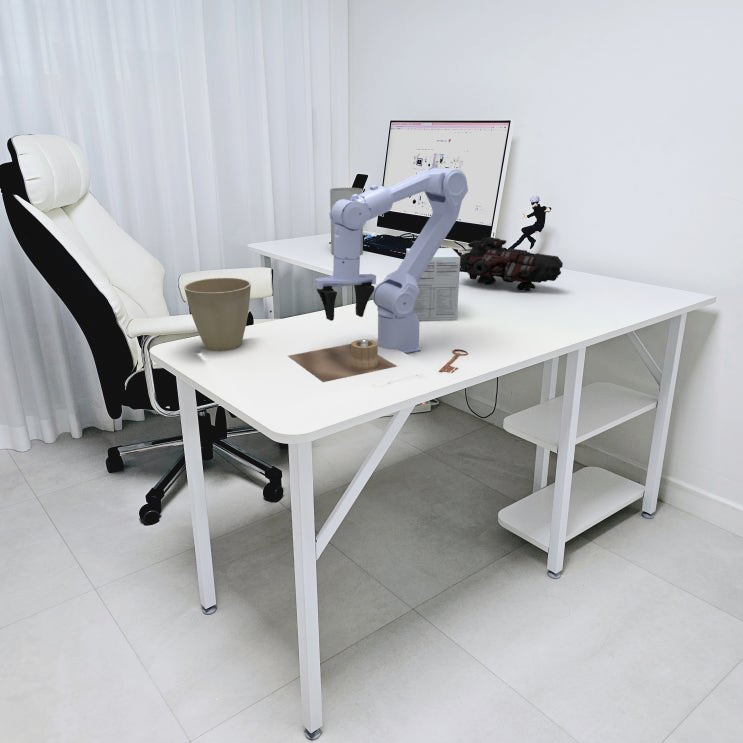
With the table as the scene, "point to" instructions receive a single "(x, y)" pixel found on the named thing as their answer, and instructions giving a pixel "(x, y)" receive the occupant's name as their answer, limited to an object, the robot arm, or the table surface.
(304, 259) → the table surface
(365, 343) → the silver metal cylinder
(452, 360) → the key
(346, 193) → the cylinder vase
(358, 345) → the bead
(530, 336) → the table surface
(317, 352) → the fabric cloth
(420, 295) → the supplement box
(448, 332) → the table surface
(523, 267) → the spaceship model
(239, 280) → the plant pot
